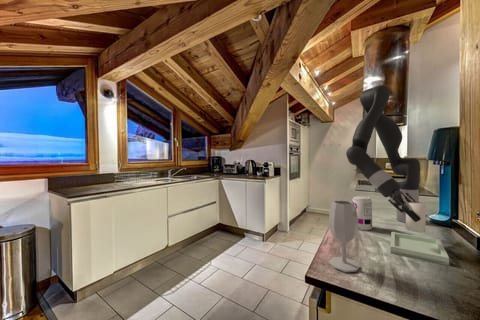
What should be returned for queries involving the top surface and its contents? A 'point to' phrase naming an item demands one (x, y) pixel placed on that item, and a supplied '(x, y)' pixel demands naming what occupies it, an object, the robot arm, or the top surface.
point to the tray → (419, 248)
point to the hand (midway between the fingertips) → (421, 218)
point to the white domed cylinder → (421, 212)
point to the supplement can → (363, 212)
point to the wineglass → (343, 232)
